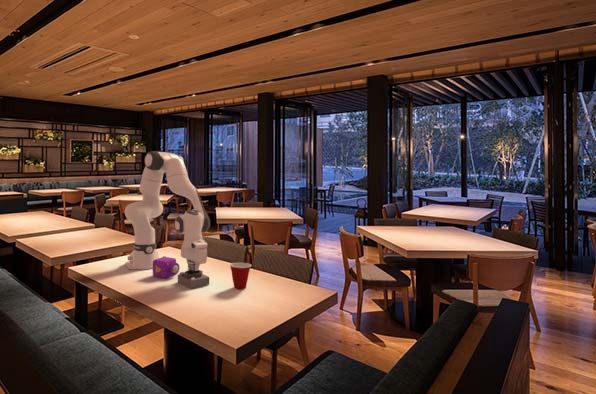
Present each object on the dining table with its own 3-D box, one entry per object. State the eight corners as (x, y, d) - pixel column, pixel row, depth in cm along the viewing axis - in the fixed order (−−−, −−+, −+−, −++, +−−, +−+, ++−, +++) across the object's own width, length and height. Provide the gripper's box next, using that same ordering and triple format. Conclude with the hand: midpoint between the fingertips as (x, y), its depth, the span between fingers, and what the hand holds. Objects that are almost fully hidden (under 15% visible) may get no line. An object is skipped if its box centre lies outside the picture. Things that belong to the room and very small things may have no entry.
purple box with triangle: (173, 280, 195) (173, 261, 194) (150, 278, 198) (149, 259, 197) (183, 274, 206) (183, 256, 205) (161, 272, 209) (161, 254, 208)
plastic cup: (255, 287, 186) (256, 263, 185) (240, 292, 177) (240, 268, 176) (240, 282, 192) (240, 260, 192) (224, 288, 184) (224, 264, 183)
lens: (186, 273, 190) (186, 259, 189) (195, 271, 193) (195, 258, 193) (191, 276, 186) (191, 261, 185) (200, 274, 190) (200, 260, 189)
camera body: (177, 282, 191) (177, 270, 191) (195, 278, 198) (195, 267, 198) (191, 288, 181) (191, 276, 181) (209, 284, 189) (209, 273, 188)
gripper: (177, 239, 193) (177, 265, 194) (197, 246, 179) (197, 274, 180) (188, 238, 198) (188, 263, 199) (209, 244, 183) (209, 272, 185)
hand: (193, 269), depth 189 cm, fingers closed on lens, 5 cm apart
